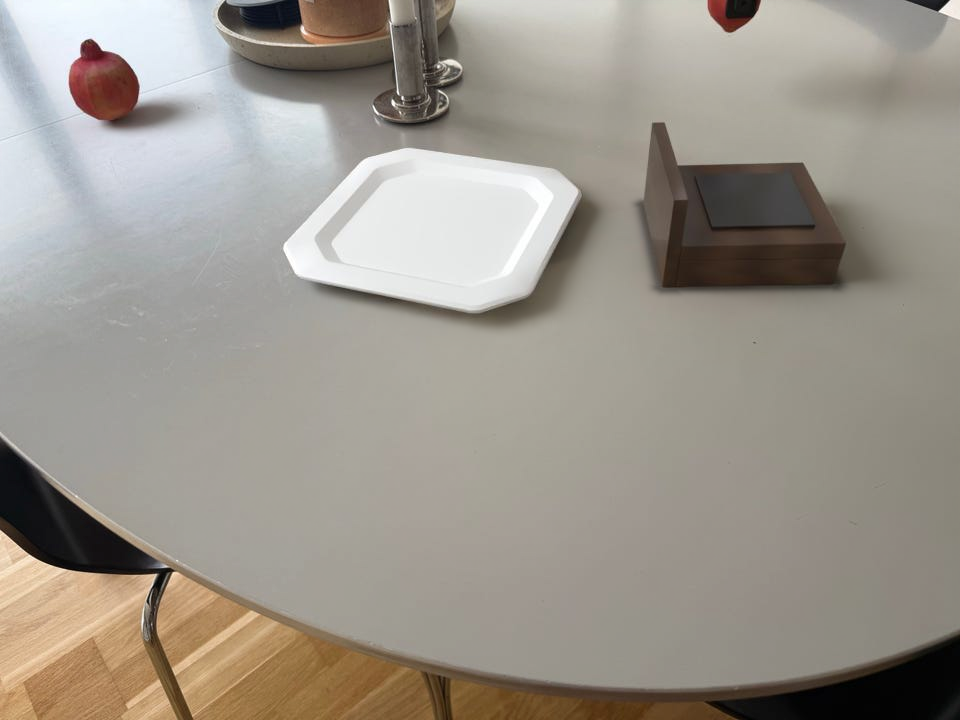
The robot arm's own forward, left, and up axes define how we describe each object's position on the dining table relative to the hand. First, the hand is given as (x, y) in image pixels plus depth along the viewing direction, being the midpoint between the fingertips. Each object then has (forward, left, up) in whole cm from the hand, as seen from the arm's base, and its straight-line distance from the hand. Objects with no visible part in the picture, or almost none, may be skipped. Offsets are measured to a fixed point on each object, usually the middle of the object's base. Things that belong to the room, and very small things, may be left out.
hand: (733, 5), depth 92 cm
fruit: (+76, 0, -12) cm, 76 cm away
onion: (0, 0, -3) cm, 3 cm away
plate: (+33, +28, -12) cm, 44 cm away
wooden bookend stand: (+4, +30, -12) cm, 32 cm away
